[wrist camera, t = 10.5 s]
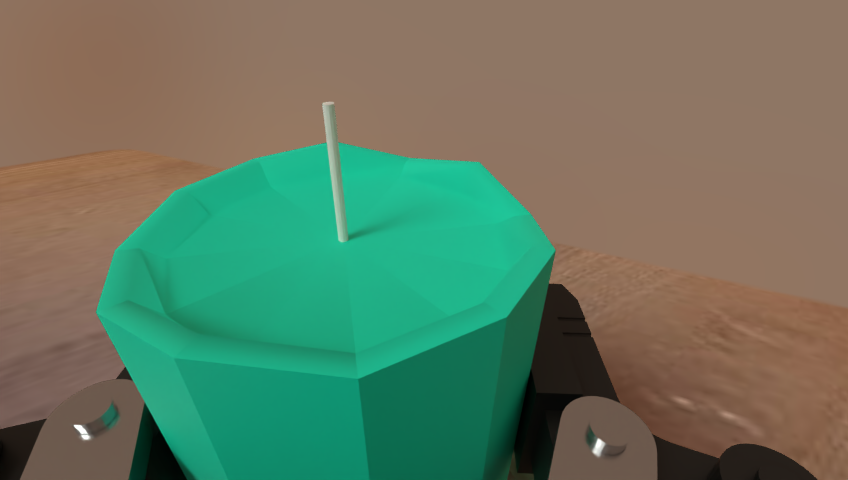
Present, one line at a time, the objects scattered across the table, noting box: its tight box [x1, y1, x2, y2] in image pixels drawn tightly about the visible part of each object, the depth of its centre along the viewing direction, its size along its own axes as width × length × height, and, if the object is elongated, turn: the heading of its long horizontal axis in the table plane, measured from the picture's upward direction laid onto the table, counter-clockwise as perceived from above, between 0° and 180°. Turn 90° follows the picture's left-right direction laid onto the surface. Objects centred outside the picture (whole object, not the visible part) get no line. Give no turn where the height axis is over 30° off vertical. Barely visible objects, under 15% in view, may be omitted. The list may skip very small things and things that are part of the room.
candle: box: [96, 102, 556, 480], centre depth 8 cm, size 6×6×12 cm
